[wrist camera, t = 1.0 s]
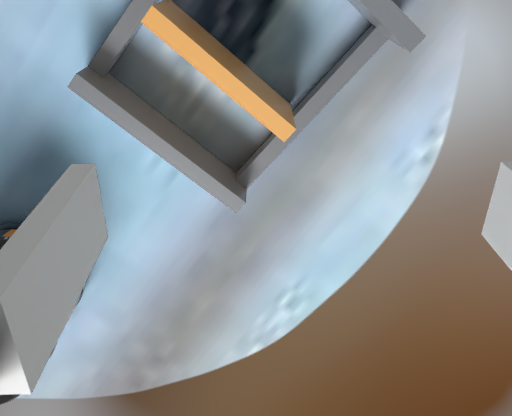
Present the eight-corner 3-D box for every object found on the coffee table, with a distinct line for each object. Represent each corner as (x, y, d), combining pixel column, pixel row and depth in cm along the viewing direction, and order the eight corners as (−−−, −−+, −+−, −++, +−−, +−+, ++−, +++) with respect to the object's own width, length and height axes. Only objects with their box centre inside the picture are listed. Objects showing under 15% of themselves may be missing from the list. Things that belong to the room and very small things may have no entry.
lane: (86, 74, 36) (50, 98, 30) (235, -145, 29) (228, -173, 23) (238, 190, 40) (234, 232, 34) (395, 22, 34) (425, 36, 28)
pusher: (159, 12, 33) (140, 21, 28) (169, -2, 33) (151, 5, 28) (280, 116, 37) (284, 142, 32) (290, 104, 36) (296, 129, 31)
